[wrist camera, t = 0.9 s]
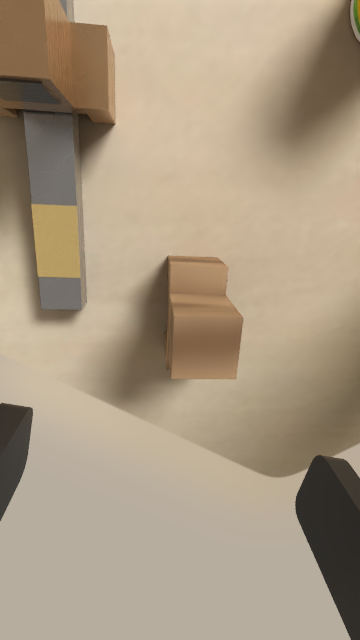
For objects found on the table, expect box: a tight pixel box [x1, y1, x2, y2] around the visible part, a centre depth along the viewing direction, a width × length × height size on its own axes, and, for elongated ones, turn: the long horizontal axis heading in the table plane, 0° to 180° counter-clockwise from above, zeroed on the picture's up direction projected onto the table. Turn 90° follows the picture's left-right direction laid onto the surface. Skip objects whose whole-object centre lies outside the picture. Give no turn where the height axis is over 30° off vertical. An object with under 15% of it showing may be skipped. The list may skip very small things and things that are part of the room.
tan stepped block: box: [165, 256, 243, 379], centre depth 24 cm, size 8×4×9 cm, turn 177°
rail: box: [0, 0, 115, 310], centre depth 20 cm, size 8×20×9 cm, turn 177°
